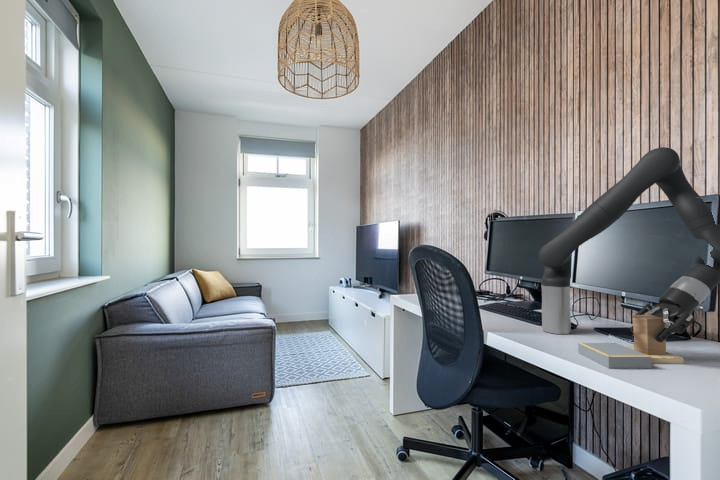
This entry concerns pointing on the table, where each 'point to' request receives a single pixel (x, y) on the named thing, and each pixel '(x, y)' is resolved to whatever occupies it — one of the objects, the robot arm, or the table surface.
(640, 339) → the wooden block
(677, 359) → the pallet
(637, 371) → the table surface
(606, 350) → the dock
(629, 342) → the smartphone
